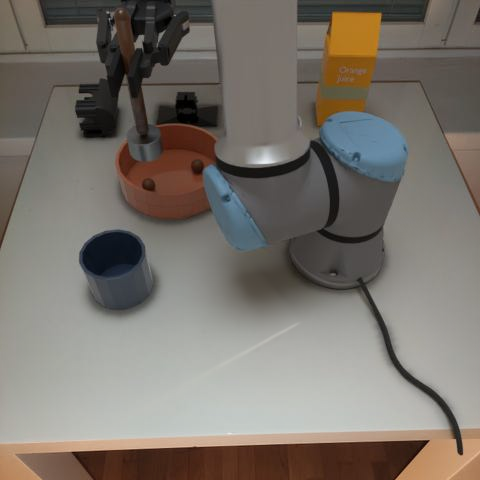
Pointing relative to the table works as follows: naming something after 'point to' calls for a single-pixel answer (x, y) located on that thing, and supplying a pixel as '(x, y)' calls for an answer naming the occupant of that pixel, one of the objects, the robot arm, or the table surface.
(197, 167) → the meatball
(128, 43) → the ladle
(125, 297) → the crock
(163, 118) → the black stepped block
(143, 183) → the meatball
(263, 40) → the robot arm
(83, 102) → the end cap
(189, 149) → the bowl
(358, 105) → the orange juice
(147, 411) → the table surface
